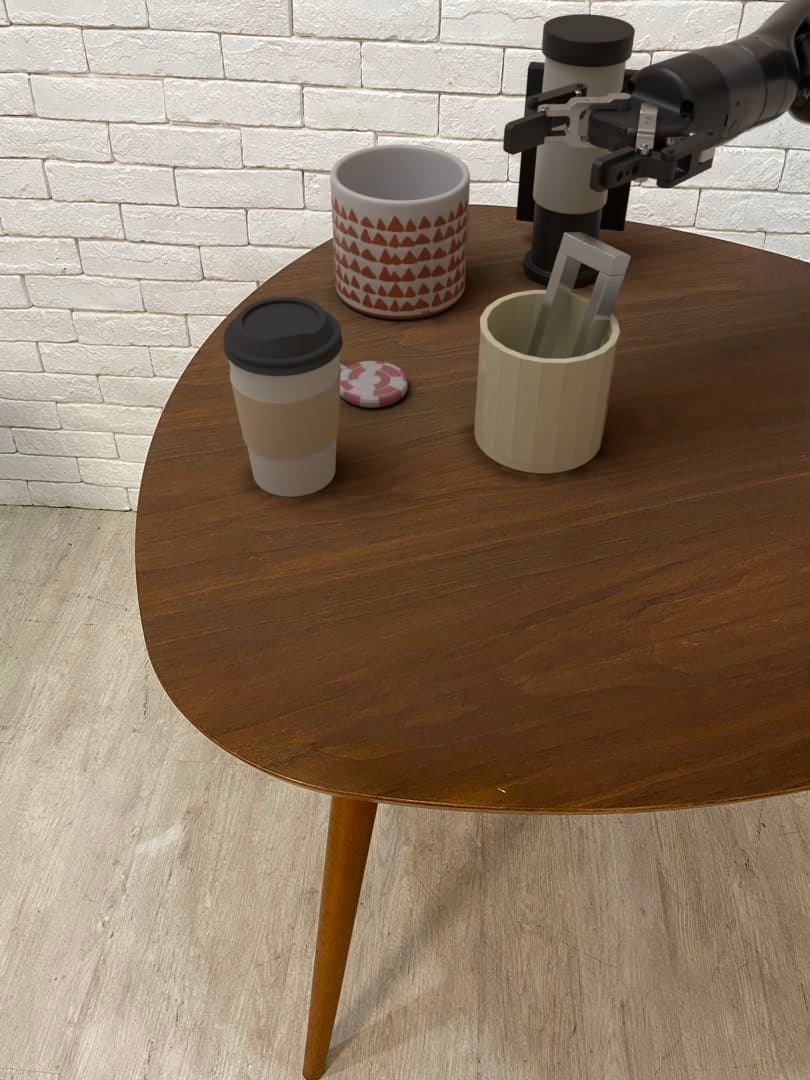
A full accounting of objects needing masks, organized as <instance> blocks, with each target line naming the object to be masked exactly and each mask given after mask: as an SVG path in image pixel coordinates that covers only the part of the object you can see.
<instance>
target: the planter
mask: <svg viewBox="0 0 810 1080" xmlns="http://www.w3.org/2000/svg"><path fill="white" fill-rule="evenodd" d="M329 174H330V175H329V177H330V178H329V179H330V180H329V182H330V199H331V200H330V201H331V220H332V222H331V223H332V242H333V261H334V262H333V263H334V265H333V266H334V283H335V290H336V293H337V295H338V297H339V298H340V300H341V301H342V302H343V303H344V304H345V305H347V306H348V307H350V308H351V309H352V310H355V311H357V312H358V313H361V314H364V315H367V316H371V317H374V318H379V319H385V320H397V321H398V320H399V321H400V320H415V319H422V318H427V317H431V316H434V315H437V314H440V313H442V312H444V311H446V310H448V309H450V308H452V306H454V305H455V304H456V303H458V302H459V300H460V299H461V298H462V296H463V294H464V292H465V288H466V274H467V255H468V254H467V252H468V233H469V229H468V228H469V208H470V207H469V206H470V189H471V188H470V187H471V186H470V185H471V173H470V170H469V167H468V166H467V165H466V163H464V162H463V160H462V159H460V158H459V157H457V156H455V155H454V154H452V153H450V152H448V151H445V150H441V149H439V148H436V147H431V146H426V145H416V144H401V143H400V144H398V143H397V144H383V145H376V146H375V145H374V146H370V147H365V148H362V149H359V150H355V151H353V152H351V153H348V154H346V155H344V156H343V157H341V158H340V159H339V160H337V161H336V162H335V164H333V166H332V167H331V170H330V173H329Z"/></svg>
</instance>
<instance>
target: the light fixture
mask: <svg viewBox="0 0 810 1080" xmlns="http://www.w3.org/2000/svg"><path fill="white" fill-rule="evenodd" d="M542 27H543V28H542V39H541V53H542V54H543V56H544V62H543V61H542V62H541V61H530V62H529V63H528V67H527V73H526V75H527V76H526V85H525V86H526V88H525V100H524V113H523V117H525V116H526V104H527V98H528V97H530V96H533V95H537V94H540V93H544V92H547V91H550V90H554V89H557V88H561V87H564V86H568V85H571V84H575V83H584V84H587V85H588V89H587V96H588V97H601V96H607V95H608V94H610V93H620V92H621V90H622V89H623V88H624V87H625V85H626V84H627V83H628V81H629V80H630V79H631V78H632V76H633V75H634V74H635V73H637V72H638V71H639V70H640V69H632V68H626V67H627V66H626V65H627V61H628V60H630V59H631V57H632V55H633V48H634V39H635V33H636V30H635V29H636V28H635V27H634V25H632V24H631V23H629V22H628V21H626V20H623V19H620V18H617V17H613V16H608V15H601V14H590V13H589V14H588V13H579V14H577V13H576V14H575V13H574V14H566V15H565V14H564V15H560V16H556V17H553V18H550V19H548V20H547V21H546V22H544V24H543V26H542ZM588 119H589V115H584V118H583V119H581V120H580V121H579V130H578V135H579V136H587V127H588ZM565 128H566V124H565V125H561V126H558V127H555V128H552V130H564V129H565ZM609 153H612V152H610V151H606V150H604V149H603V148H575V149H572V148H569V147H568V145H567V143H565V142H550V143H544V144H542V145H539V146H536V147H534V148H531V149H528V150H525V151H523V152H520V162H519V163H520V164H519V173H518V174H519V176H518V187H517V201H516V212H515V213H516V214H515V220H516V221H519V222H526V223H527V222H528V223H532V236H531V247H530V249H529V250H527V252H525V255H524V257H523V272H524V274H525V275H526V276H527V278H529V279H530V280H532V281H533V282H535V283H537V284H539V285H542V286H545V287H548V283H549V280H550V277H551V274H552V270H553V267H554V264H555V261H556V257H557V254H558V252H559V248H560V245H561V241H562V238H563V235H564V233H566V232H582V233H584V234H586V235H588V236H590V237H592V238H594V239H597V240H599V238H600V230H603V231H614V232H624V230H625V227H626V226H625V225H626V220H627V219H626V218H627V212H628V207H629V206H628V205H629V201H630V200H629V199H630V193H631V186H632V181H630V182H628V183H624V184H623V185H620V186H618V187H616V188H610V189H608V190H605V191H603V192H600V193H599V192H596V191H594V190H592V189H590V187H589V184H590V176H591V168H592V164H593V162H594V160H595V159H597V158H599V157H602V156H604V155H607V154H609ZM598 274H599V271H597V270H595V269H593V268H591V267H589V266H587V265H585V264H583V263H581V265H580V268H579V271H578V274H577V278H576V281H575V284H574V287H573V289H577V288H583V287H585V286H588V285H590V284H592V283H594V282H596V280H597V277H598Z"/></svg>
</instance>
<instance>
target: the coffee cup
mask: <svg viewBox="0 0 810 1080" xmlns="http://www.w3.org/2000/svg"><path fill="white" fill-rule="evenodd" d="M222 339H223V353H224V355H225V357H226V358H227V360H228V364H229V368H230V372H229V379H230V383H231V388H232V392H233V397H234V401H235V406H236V411H237V416H238V419H239V420H238V421H239V424H240V429H241V430H240V431H241V433H242V439H243V442H244V443H245V445H246V447H247V452H248V457H249V461H250V466H251V471H252V475H253V479H254V482H255V483H256V485H257V486H258V487H259V488H260V489H262V490H263V491H264V492H267V493H269V494H271V495H274V496H279V497H286V498H287V497H288V498H289V497H290V498H293V497H295V498H296V497H303V496H307V495H308V496H309V495H311V494H314V493H316V492H319V491H321V490H322V489H324V488H325V487H327V485H329V484H330V483H331V481H332V480H333V478H334V477H335V474H336V462H337V437H338V434H339V427H340V426H339V421H340V403H341V402H340V399H341V398H340V397H341V395H340V376H341V372H342V371H341V367H340V364H341V363H340V354H341V353H340V352H341V351H342V347H343V344H344V340H343V335H342V327H341V324H340V323H339V321H338V320H337V319H336V317H334V316H333V315H332V314H331V313H329V312H328V311H326V310H325V309H324V308H323V307H322V306H321V305H320V304H318V303H317V302H314V301H312V300H309V299H305V298H303V297H296V296H278V297H277V296H276V297H270V298H265V299H260V300H258V301H255V302H253V303H250V304H249V305H247V306H245V307H244V308H243V309H242V310H241V311H240V312H239V313H238V314H237V316H236V317H235V318H233V319H232V320H231V321H230V322H229V323H228V325H227V326H226V328H225V329H224V330H223V336H222ZM339 363H340V364H339Z"/></svg>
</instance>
